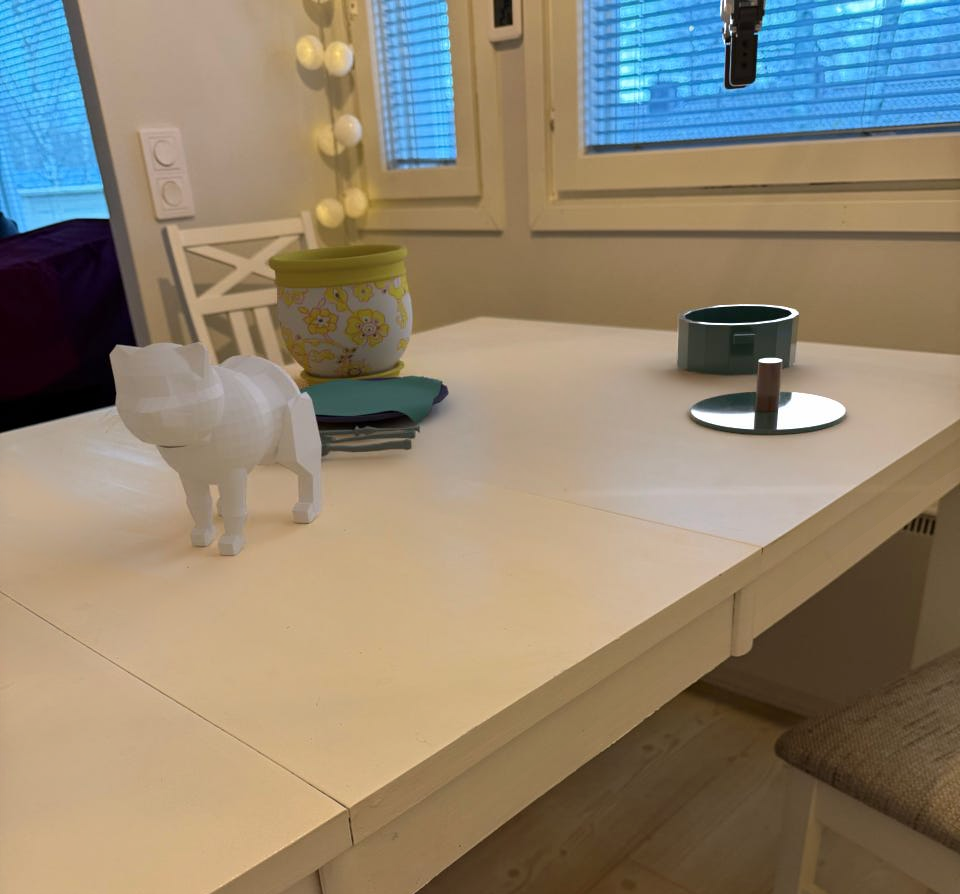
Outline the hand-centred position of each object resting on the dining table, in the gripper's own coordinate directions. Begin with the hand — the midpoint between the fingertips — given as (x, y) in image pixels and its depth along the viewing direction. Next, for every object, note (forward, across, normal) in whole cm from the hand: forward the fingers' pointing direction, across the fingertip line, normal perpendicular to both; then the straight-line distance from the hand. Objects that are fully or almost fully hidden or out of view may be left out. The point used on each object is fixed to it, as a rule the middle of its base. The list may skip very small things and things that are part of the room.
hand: (738, 87), depth 87 cm
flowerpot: (+30, +24, +48) cm, 62 cm away
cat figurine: (+30, -32, +41) cm, 61 cm away
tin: (+31, +24, -3) cm, 39 cm away
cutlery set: (+30, +1, +41) cm, 51 cm away
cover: (+30, -2, -4) cm, 30 cm away
